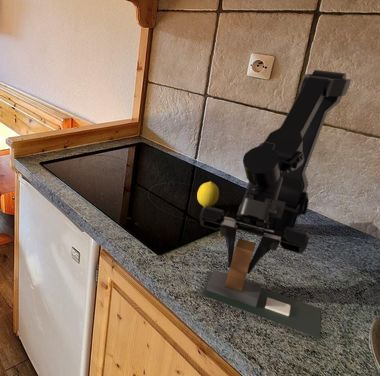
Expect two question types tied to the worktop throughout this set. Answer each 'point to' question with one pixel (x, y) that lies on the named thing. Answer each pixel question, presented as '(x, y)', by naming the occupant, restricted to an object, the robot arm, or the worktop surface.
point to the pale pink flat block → (277, 306)
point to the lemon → (208, 194)
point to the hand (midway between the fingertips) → (238, 269)
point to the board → (298, 318)
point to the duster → (237, 277)
